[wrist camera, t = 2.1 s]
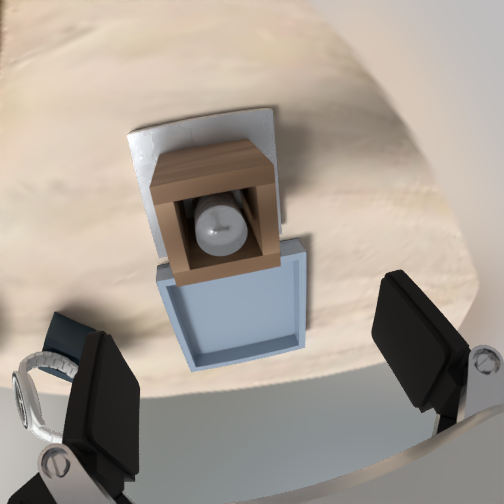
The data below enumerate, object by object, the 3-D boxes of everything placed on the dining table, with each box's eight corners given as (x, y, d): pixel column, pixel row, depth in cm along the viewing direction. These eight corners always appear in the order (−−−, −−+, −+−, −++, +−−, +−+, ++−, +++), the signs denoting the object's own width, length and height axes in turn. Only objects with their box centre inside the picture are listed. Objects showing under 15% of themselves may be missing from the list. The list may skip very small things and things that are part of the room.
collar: (159, 154, 18) (149, 187, 13) (248, 138, 19) (274, 164, 14) (176, 232, 21) (177, 287, 16) (256, 217, 22) (281, 266, 17)
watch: (36, 302, 23) (-1, 404, 14) (112, 337, 26) (102, 442, 17) (28, 338, 25) (1, 429, 16) (96, 367, 28) (86, 461, 19)
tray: (157, 266, 23) (155, 281, 22) (297, 238, 25) (306, 251, 23) (189, 356, 30) (191, 372, 28) (298, 333, 31) (304, 347, 29)
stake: (130, 131, 18) (101, 163, 12) (267, 107, 19) (311, 125, 13) (160, 249, 23) (155, 320, 16) (277, 226, 24) (312, 288, 18)
